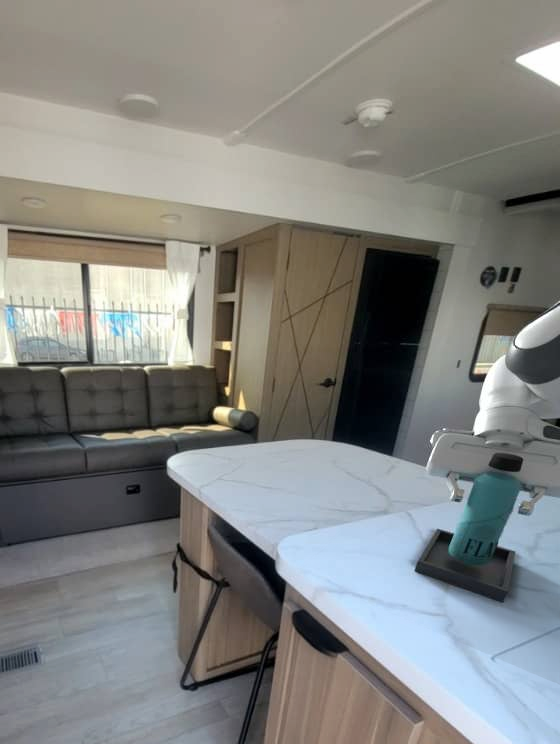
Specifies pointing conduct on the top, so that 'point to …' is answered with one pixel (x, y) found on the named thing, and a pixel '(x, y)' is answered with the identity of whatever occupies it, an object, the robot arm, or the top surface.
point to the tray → (467, 568)
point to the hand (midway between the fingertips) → (489, 506)
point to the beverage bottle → (487, 511)
